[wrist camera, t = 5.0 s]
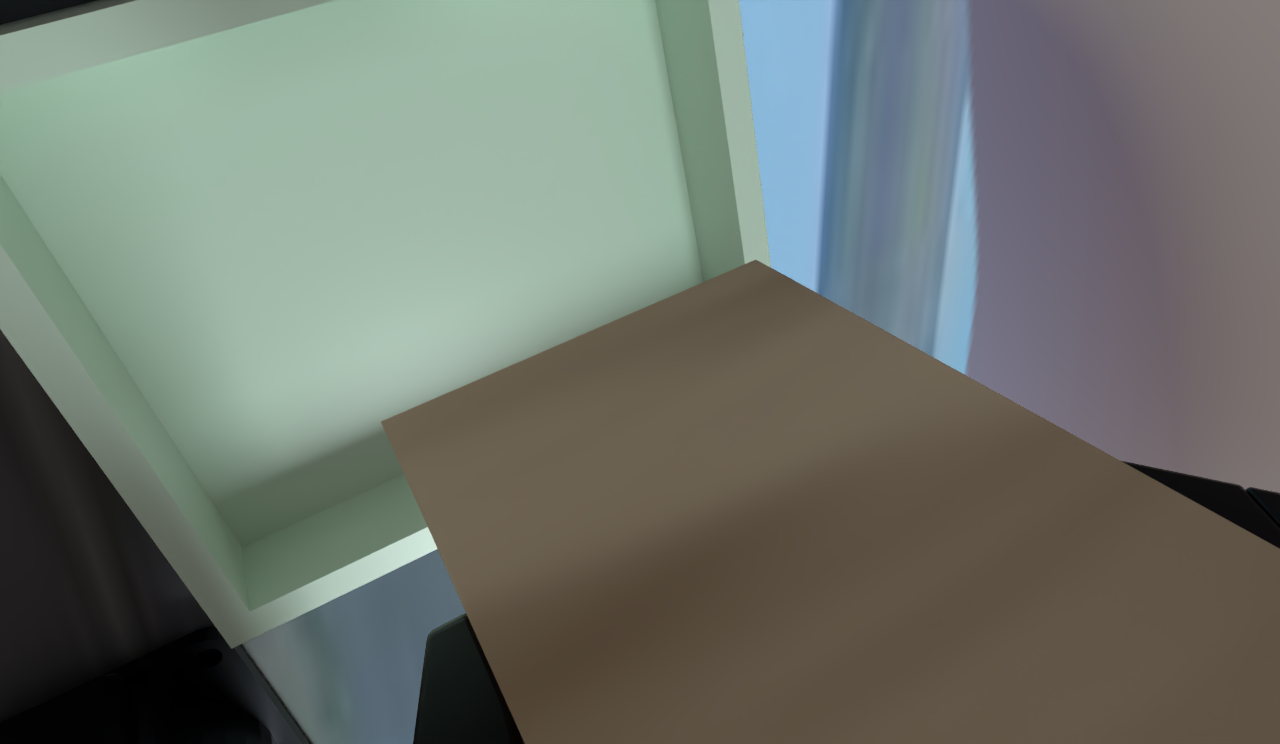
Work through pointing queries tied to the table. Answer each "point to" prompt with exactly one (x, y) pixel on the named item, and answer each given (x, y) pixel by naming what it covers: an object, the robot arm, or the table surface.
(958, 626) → the block
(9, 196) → the tray
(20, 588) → the table surface
